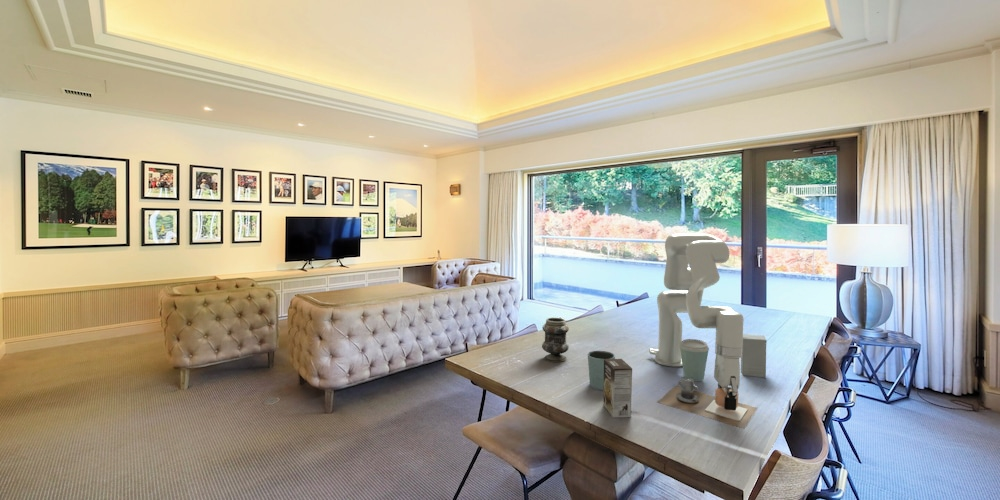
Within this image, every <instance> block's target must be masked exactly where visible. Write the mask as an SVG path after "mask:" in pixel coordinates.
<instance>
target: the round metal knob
mask: <svg viewBox="0 0 1000 500" xmlns="http://www.w3.org/2000/svg"><path fill="white" fill-rule="evenodd" d="M677 386H680V387H681V392H680V393H677V394H676V399H677V400H678V401H680V402H683V403H686V404H697V403H698V402H699V398H698V397H697V396H696V395H694V391H696V390H698V385H696V384H695V381H694V379H692V378H687V377H682V378H681V380H680V381H678V382H677Z"/></svg>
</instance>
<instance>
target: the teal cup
mask: <svg viewBox="0 0 1000 500" xmlns="http://www.w3.org/2000/svg"><path fill="white" fill-rule="evenodd" d="M587 359H588V360H587V361H588V364H587V365H588V366H587V367H588V377H589V378H588V379H589V386H590V388H593V389H594V390H598V391H604V359H616V355H615V354H614V353H613V352H610V351H605V350H592V351H589V352H588V353H587Z"/></svg>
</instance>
